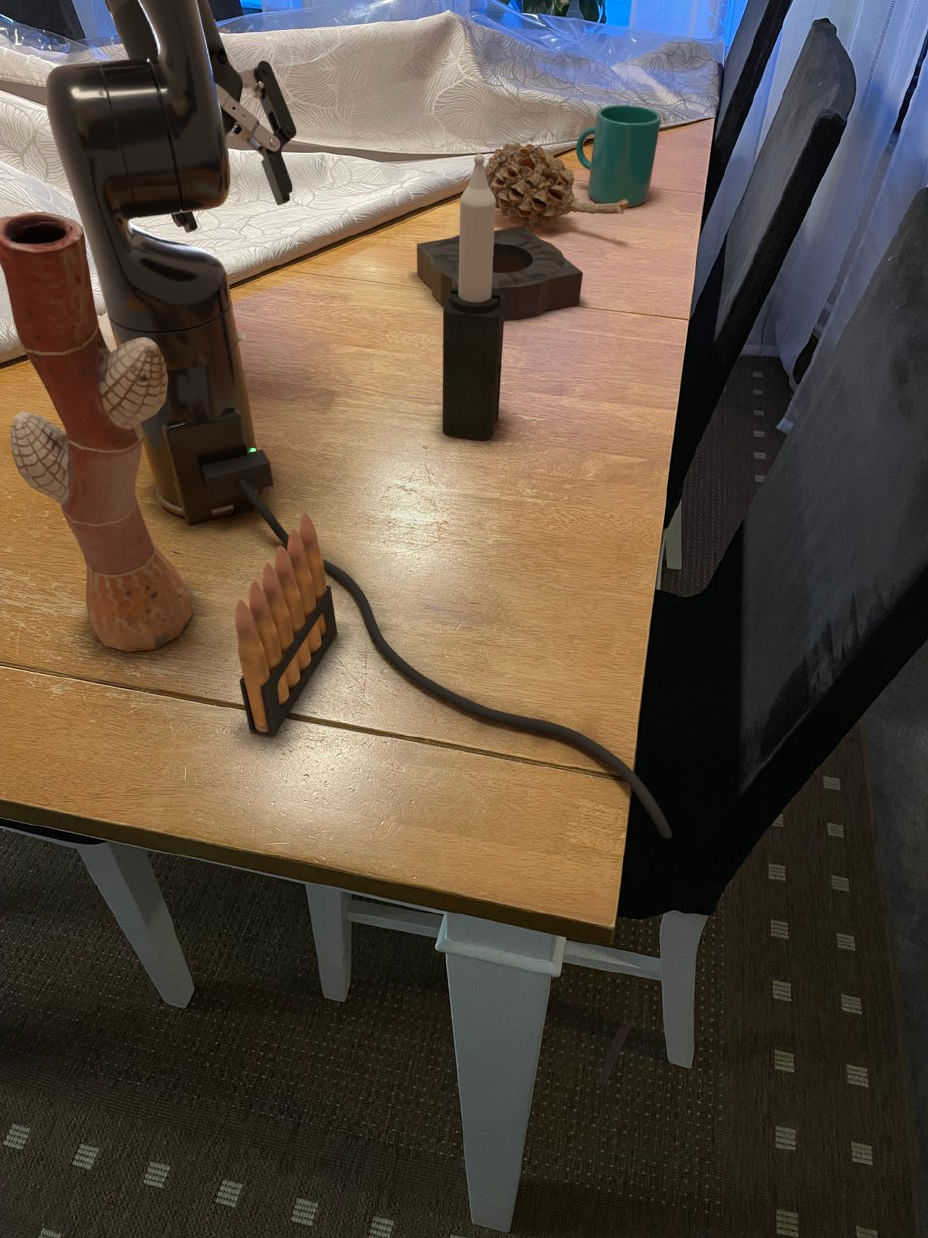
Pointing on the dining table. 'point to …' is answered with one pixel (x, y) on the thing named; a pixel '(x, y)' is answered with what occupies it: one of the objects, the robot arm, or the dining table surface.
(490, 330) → the candle
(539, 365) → the dining table surface
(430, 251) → the candle base
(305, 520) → the ammunition clip
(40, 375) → the vase
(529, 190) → the pine cone
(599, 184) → the cup
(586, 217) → the dining table surface
